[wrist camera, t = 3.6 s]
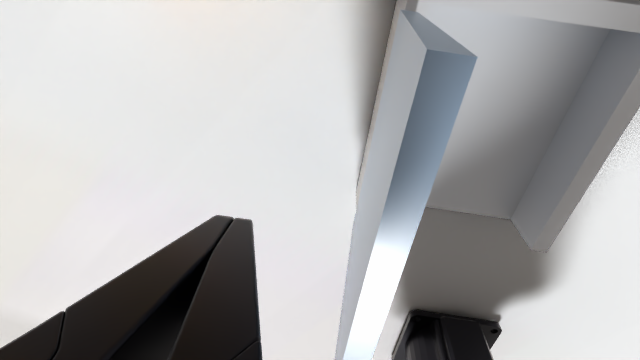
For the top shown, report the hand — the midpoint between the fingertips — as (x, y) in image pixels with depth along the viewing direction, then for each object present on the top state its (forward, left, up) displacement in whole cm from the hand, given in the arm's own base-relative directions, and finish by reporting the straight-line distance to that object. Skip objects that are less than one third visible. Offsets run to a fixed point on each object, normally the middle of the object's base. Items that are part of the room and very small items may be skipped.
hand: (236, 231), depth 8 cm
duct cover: (0, -4, -3) cm, 5 cm away
